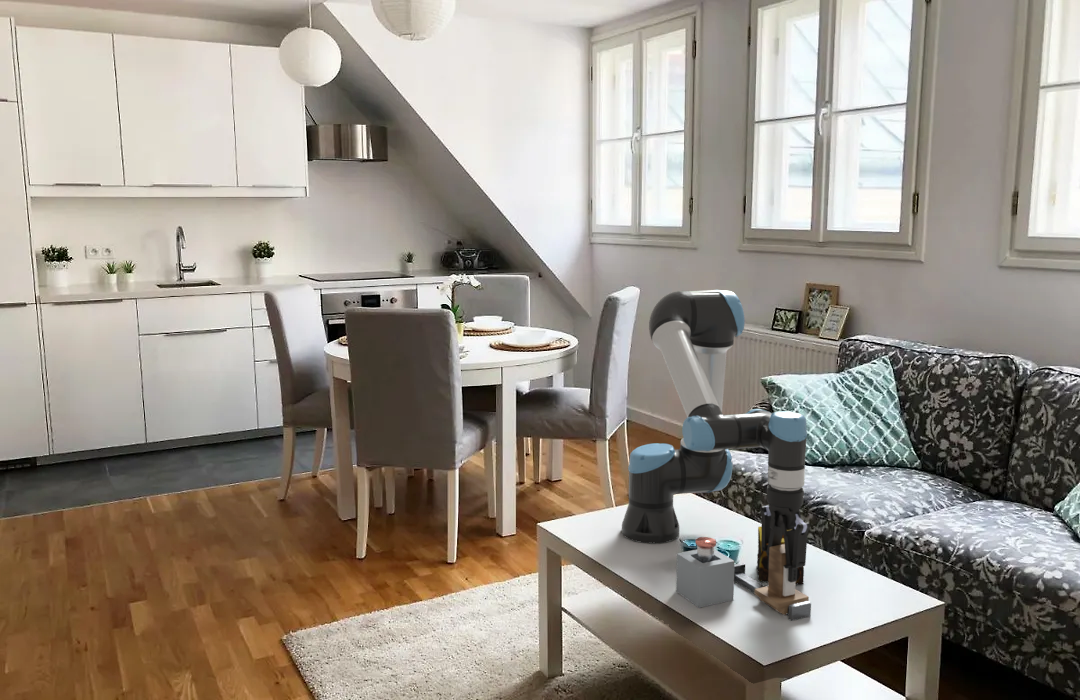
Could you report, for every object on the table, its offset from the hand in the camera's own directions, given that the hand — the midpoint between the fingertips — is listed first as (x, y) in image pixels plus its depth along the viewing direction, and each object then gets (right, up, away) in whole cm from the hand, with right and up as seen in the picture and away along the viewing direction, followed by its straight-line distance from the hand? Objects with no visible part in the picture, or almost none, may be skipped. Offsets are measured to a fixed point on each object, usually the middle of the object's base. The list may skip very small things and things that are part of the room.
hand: (781, 590), depth 191 cm
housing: (-16, -3, +6) cm, 17 cm away
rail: (-2, -3, +5) cm, 6 cm away
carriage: (0, -4, +1) cm, 4 cm away
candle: (+4, -1, +17) cm, 17 cm away
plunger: (-16, +6, +4) cm, 17 cm away
